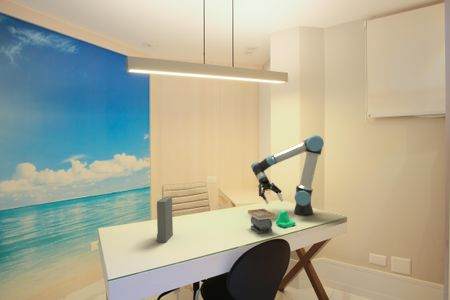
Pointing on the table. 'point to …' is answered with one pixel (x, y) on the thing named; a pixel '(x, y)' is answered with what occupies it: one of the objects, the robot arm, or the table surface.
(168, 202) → the grey upright slab
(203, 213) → the table surface
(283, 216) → the green piece
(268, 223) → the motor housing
